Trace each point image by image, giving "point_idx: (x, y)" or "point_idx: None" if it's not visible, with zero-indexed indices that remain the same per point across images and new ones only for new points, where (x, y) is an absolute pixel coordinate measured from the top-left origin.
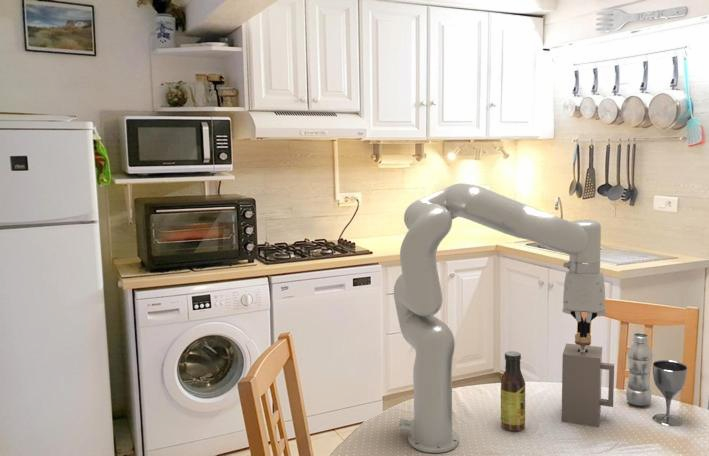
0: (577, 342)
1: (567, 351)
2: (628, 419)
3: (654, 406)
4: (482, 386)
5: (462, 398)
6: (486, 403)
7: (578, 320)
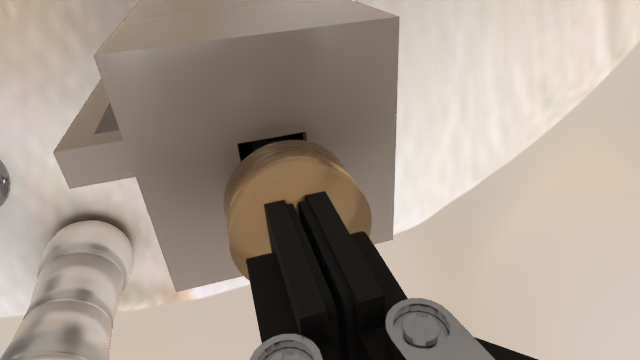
0: (327, 153)
1: (371, 99)
2: (76, 115)
3: (41, 252)
4: (539, 129)
5: (596, 14)
6: (529, 11)
7: (417, 320)
